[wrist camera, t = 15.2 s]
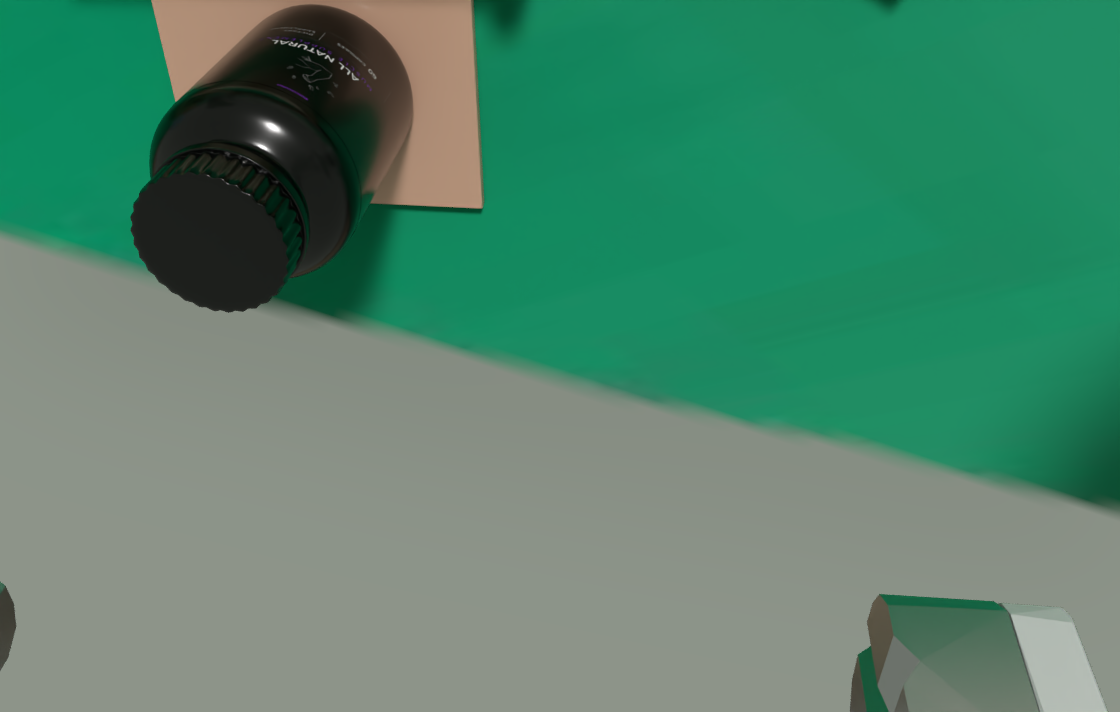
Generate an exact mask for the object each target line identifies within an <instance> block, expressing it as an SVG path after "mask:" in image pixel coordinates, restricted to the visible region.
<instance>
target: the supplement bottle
mask: <svg viewBox="0 0 1120 712" xmlns="http://www.w3.org/2000/svg"><path fill="white" fill-rule="evenodd" d="M412 113H413V96H412V89H411V84H410V80H409V77H408V74H407V71H406V69H405V66H404V64H403V62H402V60H401V58H400V57H399V55H398V54H397V52H396V50H395V49H394V48H393V46H392V45H391V44H390V43H389V41H388V40H387V39H386V38H385V37H384V36H383V35H382V34H381V33H380V32H379V31H378V30H377V29H375V28H374V27H373V26H372V25H370V24H369V23H367V22H366V21H364V20H363V19H361V18H359V17H358V16H356V15H354V14H352V13H349V12H347V11H345V10H342V9H339V8H335V7H331V6H326V5H319V4H305V5H297V6H291V7H288V8H284V9H282V10H279V11H277V12H275V13H273V14H272V15H270V16H268V17H267V18H265V19H264V20H263V21H261V22H260V23H259V24H258V25H257V26H256V27H254V28H253V29H252V30H251V31H250V32H249V33H248V34H247V35H246V36H245V37H243V38H242V39H241V40H240V41H239V42H238V43H237V44H236V45H235V46H234V47H233V48H232V49H231V50H230V51H229V52H228V53H227V54H226V55H225V56H224V57H223V58H222V59H220V60H219V61H218V62H217V63H216V64H215V65H214V66H213V67H212V68H211V69H210V70H209V71H208V72H207V73H206V74H205V75H204V76H203V77H202V78H201V79H200V80H199V81H197V82H196V83H195V84H194V85H193V86H192V87H191V88H190V89H189V90H188V91H187V92H186V93H185V94H184V95H183V96H182V97H181V98H180V99H179V100H178V101H177V102H176V103H175V104H174V105H173V106H172V107H171V108H170V109H169V111H168V112H167V113H166V114H165V116H164V117H163V118H162V120H161V122H160V123H159V125H158V127H157V129H156V131H155V134H154V137H153V140H152V144H151V149H150V160H149V166H150V177H151V180H150V181H149V182H148V183H147V184H146V185H145V186H144V187H143V188H142V190H141V191H140V193H139V197H138V198H137V200H136V201H135V202H134V204H133V208H134V212H133V213H132V215H131V221H132V224H133V225H132V227H131V232H132V234H133V236H134V245H135V247H136V248H137V249H138V251H139V257H140V258H141V260H142V261H143V262H144V263H145V264H146V266H147V269H148V271H150V272H151V273H152V274H154V275H155V277H156V278H157V280H158V281H159V282H160V283H161V284H163V285H165V286H166V287H167V288H168V289H169V290H170V291H171V292H172V293H175V294H177V295H179V296H180V297H181V298H183V299H184V300H186V301H189V302H193V303H194V304H196V305H197V306H199V307H207V308H209V309H211V310H213V311H219V310H222V311H225V312H233V311H242V312H243V311H245V310H247V309H248V308H257V307H258V306H259V305H260V304H263V303H267V302H269V301H270V299H271V298H272V296H275V295H277V294H278V293H279V292H280V291H281V289H282V287H283V286H284V284H285V283H286V282H287V281H288V279H289V278H293V277H298V276H301V275H305V274H308V273H310V272H312V271H315V270H317V269H319V268H321V267H322V266H324V265H326V264H327V263H328V262H330V261H331V260H332V259H333V258H335V257H336V256H337V255H338V254H339V253H340V251H341V250H342V249H343V248H344V246H345V245H346V244H347V242H348V241H349V239H350V238H351V236H352V235H353V233H354V231H355V229H356V228H357V226H358V224H359V222H360V220H361V219H362V217H363V215H364V213H365V211H366V210H367V208H368V206H369V204H370V202H371V201H372V199H373V197H374V195H375V193H376V192H377V190H378V188H379V186H380V184H381V183H382V181H383V179H384V177H385V175H386V174H387V172H388V170H389V168H390V166H391V165H392V163H393V161H394V159H395V157H396V156H397V154H398V152H399V150H400V148H401V146H402V144H403V142H404V140H405V138H406V136H407V133H408V130H409V127H410V124H411V120H412Z"/></svg>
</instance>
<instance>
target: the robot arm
mask: <svg viewBox="0 0 1120 712" xmlns="http://www.w3.org/2000/svg"><path fill="white" fill-rule="evenodd" d="M867 625H868V630H869V636H870V643H871V646H870V647H869V648H868V649H866V650H864V651H863V652H861V653H860V654H858V657H857V661H856V665H855V670H854V674H853V678H852V688H851V702H850V712H1108V710H1107V707H1106V705H1105V702H1104V700H1103V697H1102V694H1101V692H1100V689H1099V686H1098V684H1097V681H1096V679H1095V676H1094V673H1093V671H1092V668H1091V666H1090V663H1089V660H1088V658H1087V655H1086V653H1085V650H1084V647H1083V645H1082V642H1081V639H1080V637H1079V634H1078V632H1077V629H1076V626H1075V624H1074V621H1073V618H1072V617H1071V616H1070V615H1069V614H1068V613H1067V612H1066V611H1065V610H1064V609H1063V608H1062V607H1050V606H1036V605H1023V604H1010V603H999V604H997V603H995V602H994V601H979V600H963V599H948V598H931V597H916V596H901V595H885V594H879V596H878V597H877V598H876V599H875V600H874V602H873V604H872V607H871V610H870V614H869V617H868V620H867ZM15 629H16V620H15V610H14V603H13V601H12V599H11V597H10V594H9V592H8V590H7V588H6V586H5V585H4V584H2V583H1V582H0V670H1V669H2V667H3V665H4V664H5V662H6V660H7V659H8V656H9V652H10V649H11V645H12V641H13V637H14V633H15Z"/></svg>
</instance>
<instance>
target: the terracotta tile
mask: <svg viewBox="0 0 1120 712" xmlns="http://www.w3.org/2000/svg"><path fill="white" fill-rule="evenodd" d="M151 1H152V5H153V9H154V13H155V17H156V21H157V26H158V30H159V34H160V38H161V42H162V46H163V50H164V55H165V59H166V63H167V67H168V71H169V75H170V80H171V84H172V88H173V92H174V96H175V100H176V102H177V101H178V100H179V99H180V98H181V97H182V96H183V95H184V94H185V93H186V92H187V91H188V90H189V89H190V88H191V87H192V86H193V85H194V84H195V83H196V82H197V81H199V80H200V79H201V78H202V77H203V76H204V75H205V74H206V73H207V72H208V71H209V70H210V69H211V68H212V67H213V66H214V65H215V64H216V63H217V62H218V61H219V60H220V59H222V58H223V57H224V56H225V55H226V54H227V53H228V52H229V51H230V50H231V49H232V48H233V47H234V46H235V45H236V44H237V43H238V42H239V41H240V40H241V39H242V38H243V37H245V36H246V35H247V34H248V33H249V32H250V31H251V30H252V29H253V28H254V27H256V26H257V25H258V24H259V23H260V22H261V21H263V20H264V19H265V18H267V17H268V16H270V15H272V14H273V13H275V12H277V11H279V10H282V9H284V8H288V7H291V6H297V5H305V4H319V5H326V6H331V7H335V8H339V9H342V10H345V11H347V12H349V13H352V14H354V15H356V16H358V17H359V18H361V19H363V20H364V21H366V22H367V23H369V24H370V25H372V26H373V27H374V28H375V29H377V30H378V31H379V32H380V33H381V34H382V35H383V36H384V37H385V38H386V39H387V40H388V41H389V43H390V44H391V45H392V46H393V48H394V49H395V50H396V52H397V54H398V55H399V57H400V58H401V60H402V62H403V64H404V66H405V69H406V71H407V74H408V77H409V80H410V84H411V89H412V96H413V113H412V120H411V124H410V127H409V130H408V133H407V136H406V138H405V140H404V142H403V144H402V146H401V148H400V150H399V152H398V154H397V156H396V157H395V159H394V161H393V163H392V165H391V166H390V168H389V170H388V172H387V174H386V175H385V177H384V179H383V181H382V183H381V184H380V186H379V188H378V190H377V192H376V193H375V195H374V197H373V199H372V201H371V202H370V203H375V204H397V205H418V206H439V207H461V208H483V205H484V190H483V171H482V152H481V133H480V114H479V95H478V76H477V57H476V38H475V20H474V1H473V0H151Z"/></svg>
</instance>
